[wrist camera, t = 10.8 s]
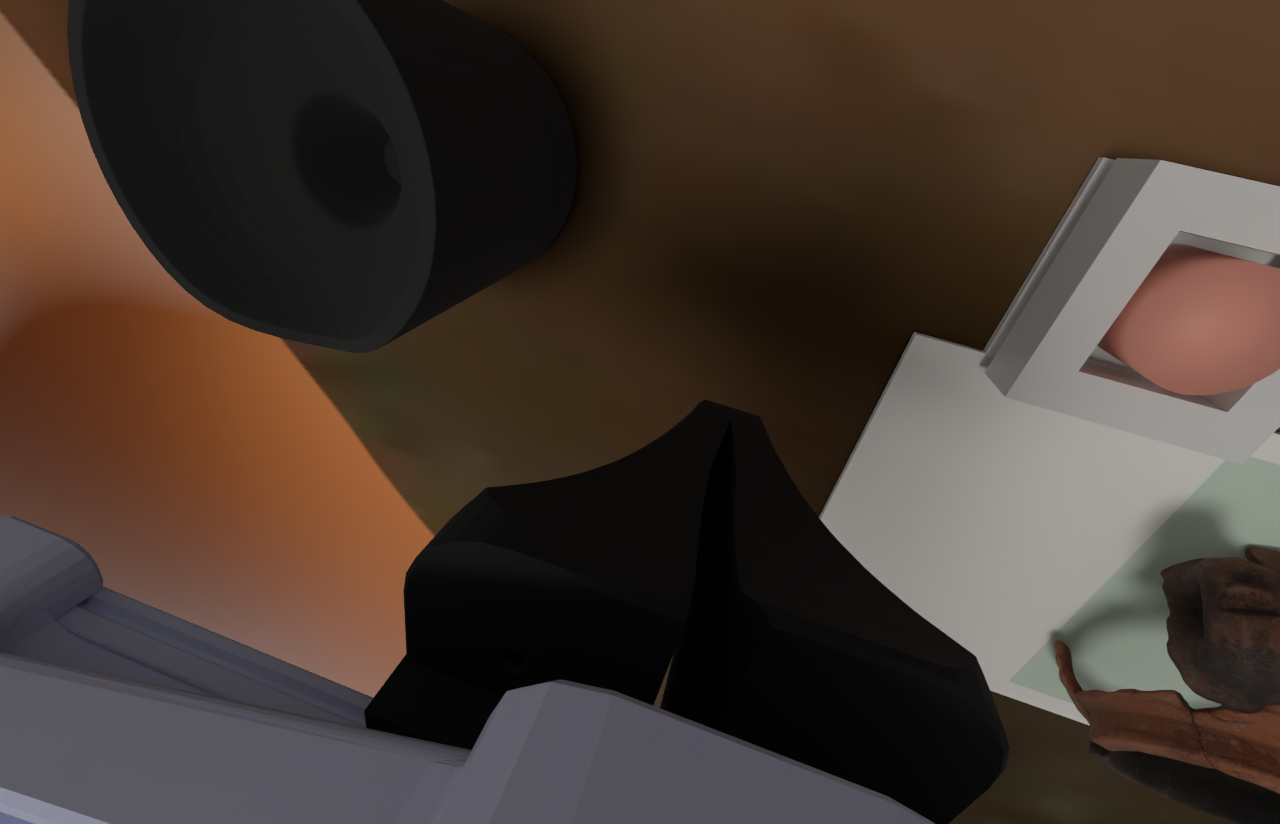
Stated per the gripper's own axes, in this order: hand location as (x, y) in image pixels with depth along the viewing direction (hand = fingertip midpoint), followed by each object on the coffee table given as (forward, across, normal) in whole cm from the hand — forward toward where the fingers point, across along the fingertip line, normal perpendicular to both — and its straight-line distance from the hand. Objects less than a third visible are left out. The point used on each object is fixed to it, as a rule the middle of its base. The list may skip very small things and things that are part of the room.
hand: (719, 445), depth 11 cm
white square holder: (+10, -12, -4) cm, 16 cm away
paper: (+10, -19, +7) cm, 23 cm away
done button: (+10, -12, -4) cm, 16 cm away
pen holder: (+11, +12, -3) cm, 16 cm away
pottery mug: (+10, -21, +7) cm, 24 cm away
